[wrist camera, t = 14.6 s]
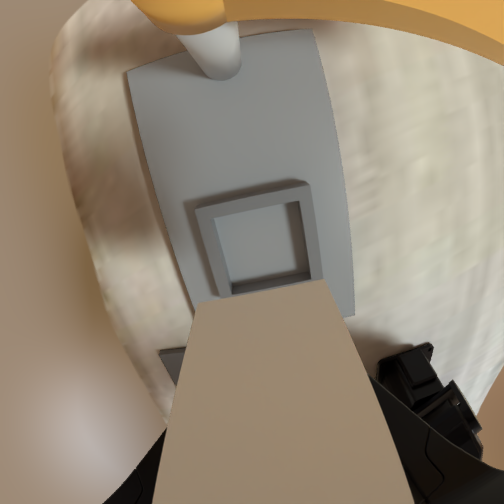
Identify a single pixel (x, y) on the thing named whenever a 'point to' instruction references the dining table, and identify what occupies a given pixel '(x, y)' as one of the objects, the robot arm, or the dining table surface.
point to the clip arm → (348, 17)
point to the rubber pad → (173, 362)
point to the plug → (276, 409)
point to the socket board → (247, 164)
